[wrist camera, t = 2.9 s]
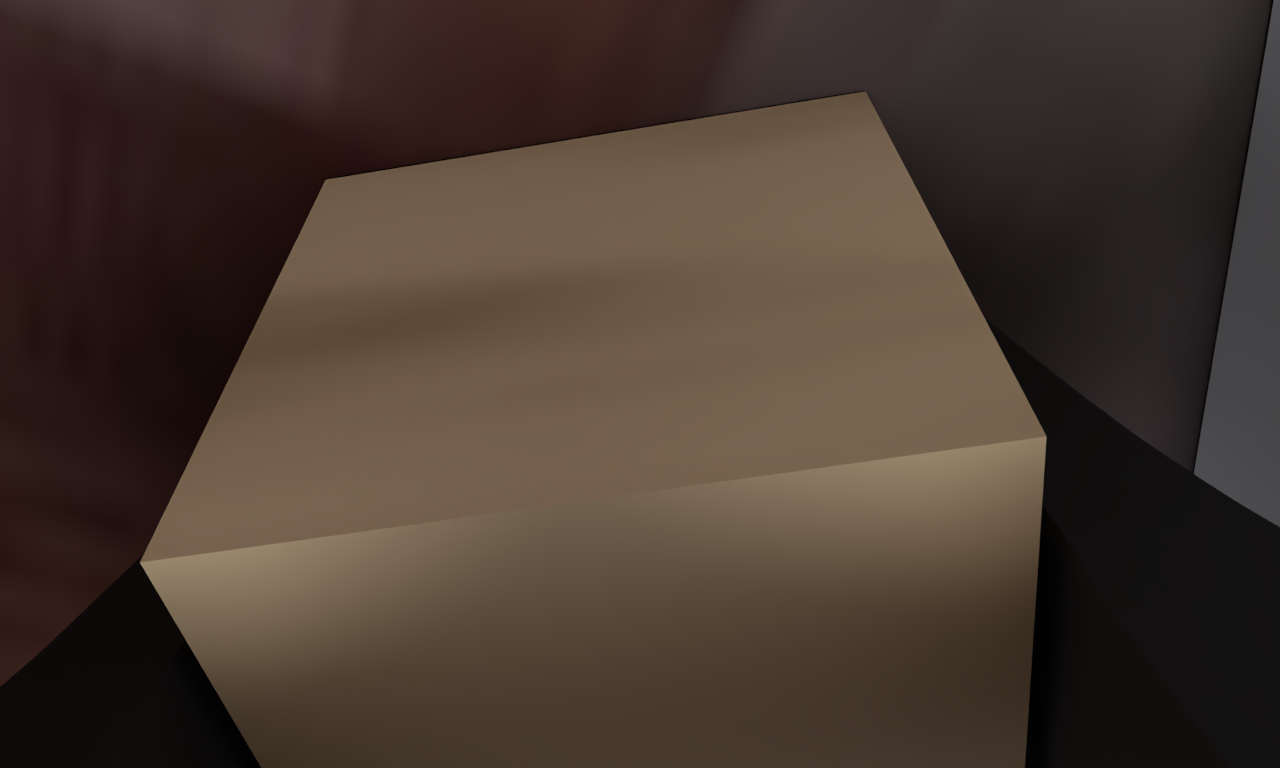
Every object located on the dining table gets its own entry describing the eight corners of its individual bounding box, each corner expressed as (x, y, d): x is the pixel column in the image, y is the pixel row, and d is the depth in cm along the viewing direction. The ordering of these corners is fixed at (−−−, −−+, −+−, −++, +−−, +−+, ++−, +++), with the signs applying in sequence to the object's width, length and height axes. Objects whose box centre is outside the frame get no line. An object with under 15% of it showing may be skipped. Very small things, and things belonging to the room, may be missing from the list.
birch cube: (884, 504, 13) (1014, 929, 9) (461, 562, 13) (396, 997, 9) (865, 91, 10) (1047, 437, 6) (326, 180, 10) (139, 562, 6)
